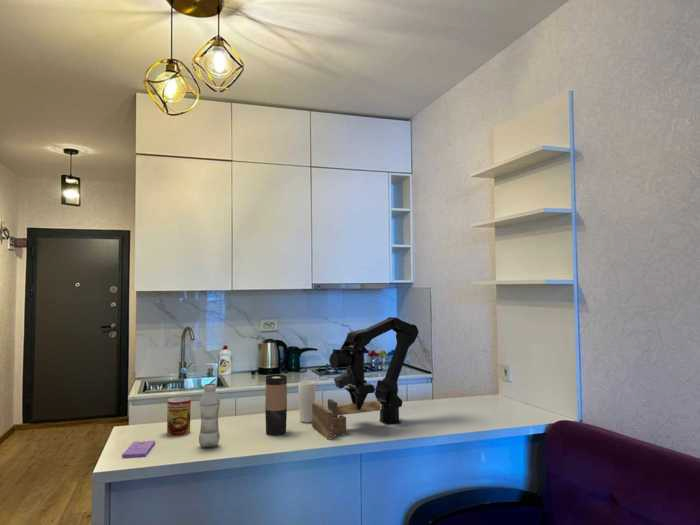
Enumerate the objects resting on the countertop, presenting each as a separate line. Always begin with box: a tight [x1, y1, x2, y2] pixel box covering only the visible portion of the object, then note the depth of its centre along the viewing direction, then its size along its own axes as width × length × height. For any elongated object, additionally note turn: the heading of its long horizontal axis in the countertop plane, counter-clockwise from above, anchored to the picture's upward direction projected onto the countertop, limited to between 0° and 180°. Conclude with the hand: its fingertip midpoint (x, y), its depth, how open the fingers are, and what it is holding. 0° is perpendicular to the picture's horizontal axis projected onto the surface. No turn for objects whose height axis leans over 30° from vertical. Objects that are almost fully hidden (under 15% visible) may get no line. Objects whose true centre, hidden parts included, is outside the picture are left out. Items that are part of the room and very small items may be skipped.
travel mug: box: [264, 374, 288, 437], centre depth 178 cm, size 8×8×20 cm
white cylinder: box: [297, 380, 317, 424], centre depth 193 cm, size 7×7×15 cm
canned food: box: [166, 396, 192, 437], centre depth 178 cm, size 8×8×12 cm
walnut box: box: [311, 402, 347, 440], centre depth 178 cm, size 8×16×9 cm, turn 23°
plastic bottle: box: [198, 383, 221, 448], centre depth 163 cm, size 6×7×20 cm
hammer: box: [327, 398, 381, 417], centre depth 182 cm, size 19×6×5 cm, turn 113°
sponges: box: [121, 440, 156, 459], centre depth 158 cm, size 7×13×2 cm, turn 9°
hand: (356, 408), depth 183 cm, fingers closed on hammer, 3 cm apart
